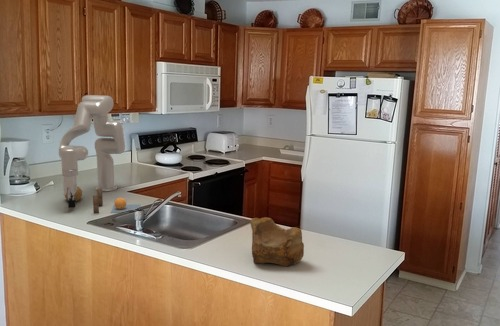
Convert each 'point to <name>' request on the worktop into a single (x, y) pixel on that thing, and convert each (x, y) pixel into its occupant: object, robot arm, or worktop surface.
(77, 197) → the potato
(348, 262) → the worktop surface
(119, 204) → the ball
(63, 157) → the robot arm
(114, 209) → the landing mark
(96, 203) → the outer post
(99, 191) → the inner post
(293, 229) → the rough brown rock
